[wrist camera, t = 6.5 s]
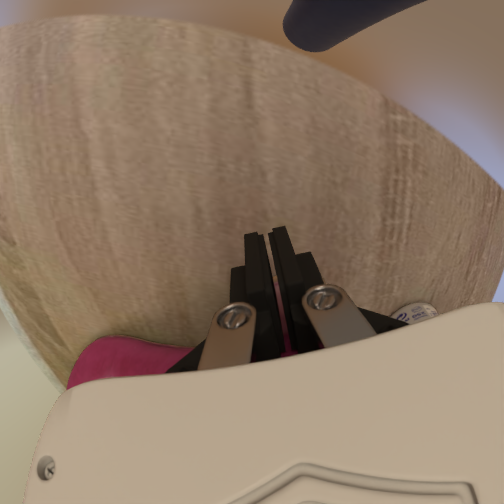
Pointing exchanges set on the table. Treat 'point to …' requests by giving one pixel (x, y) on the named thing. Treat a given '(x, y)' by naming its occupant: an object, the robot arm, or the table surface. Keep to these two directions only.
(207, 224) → the table surface
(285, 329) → the high heel
